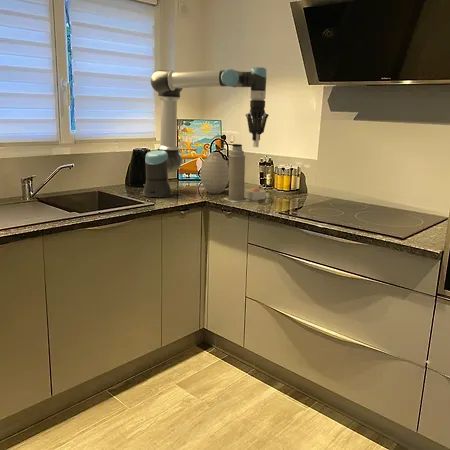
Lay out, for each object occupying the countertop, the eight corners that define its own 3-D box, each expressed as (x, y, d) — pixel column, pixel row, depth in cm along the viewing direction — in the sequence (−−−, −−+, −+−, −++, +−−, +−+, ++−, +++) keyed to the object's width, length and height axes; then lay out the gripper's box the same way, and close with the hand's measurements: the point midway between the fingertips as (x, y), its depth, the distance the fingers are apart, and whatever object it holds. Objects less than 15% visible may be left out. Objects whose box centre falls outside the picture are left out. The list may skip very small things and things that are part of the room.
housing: (244, 197, 249) (244, 190, 248) (256, 196, 253) (257, 188, 252) (253, 200, 242) (253, 192, 241) (265, 198, 246) (265, 191, 245)
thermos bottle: (243, 197, 247) (244, 143, 239) (244, 200, 239) (245, 145, 232) (228, 197, 247) (229, 143, 240) (228, 200, 239) (229, 144, 232)
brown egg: (249, 195, 248) (249, 188, 247) (256, 195, 250) (256, 187, 249) (254, 197, 244) (254, 189, 243) (260, 196, 247) (261, 189, 246)
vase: (226, 195, 253) (227, 154, 247) (197, 194, 255) (197, 153, 250) (231, 190, 268) (231, 151, 263) (203, 189, 271) (203, 150, 265)
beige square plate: (223, 198, 245) (223, 197, 244) (239, 197, 250) (239, 196, 249) (233, 202, 236) (233, 201, 236) (249, 200, 241) (249, 199, 241)
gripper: (251, 99, 228) (249, 148, 235) (272, 100, 235) (270, 147, 241) (242, 99, 235) (241, 146, 241) (264, 99, 241) (261, 146, 247)
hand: (255, 146), depth 241 cm, fingers closed
